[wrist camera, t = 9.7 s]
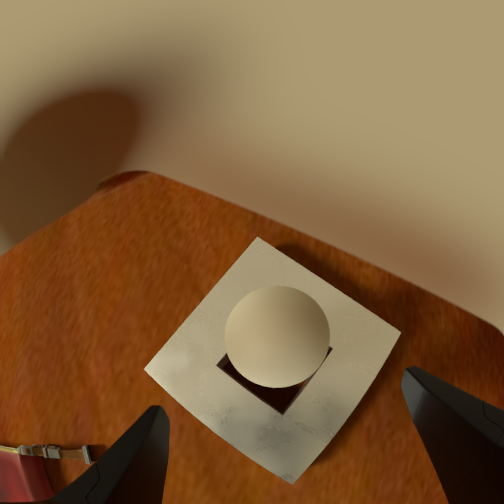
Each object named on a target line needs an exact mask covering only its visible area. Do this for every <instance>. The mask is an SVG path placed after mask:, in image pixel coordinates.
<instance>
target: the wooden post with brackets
mask: <svg viewBox="0 0 504 504" xmlns="http://www.w3.org/2000/svg"><path fill="white" fill-rule="evenodd" d="M18 451H19V452H20V453H22V455H31V456H35V455H39V456H44V457H45V458H58V459H61V458H70V459H78V460H84V461H86V464H91V463H92V462H93V461H91V458H90V454H89V450H88V445H85V446H83V447H82V449H75V450H61V448H59V447H57V446H49V444H48V445H45V447H44V446H43V447H42V448H41V445H37V444H36V445H32V446H25V445H21V446H19V447H18Z"/></svg>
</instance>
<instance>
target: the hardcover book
mask: <svg viewBox="0 0 504 504" xmlns="http://www.w3.org/2000/svg"><path fill="white" fill-rule="evenodd" d="M53 496H54V493H53V490H52V487H51V484H50V481H49V479H48V476H47V473H46V469H45V466H44V463H43V459H42V456H39V455H35V456H31V455H22V453H20V452H19V451H18V449H15V448H10V447H5V446H0V502H31V501H42V500H46V499H49V498H51V497H53Z"/></svg>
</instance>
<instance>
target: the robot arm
mask: <svg viewBox="0 0 504 504" xmlns="http://www.w3.org/2000/svg"><path fill="white" fill-rule="evenodd" d="M401 389H402V392H403V394H404V397H405V400H406V403H407V406H408V409H409V412H410V414H411V417H412V420H413V422H414V424H415V426H416V428H417V431H418V433H419V435H420V437H421V439H422V441H423V443H424V446H425V448H426V450H427V452H428V454H429V457H430V459H431V461H432V463H433V466H434V468H435V470H436V473H437V475H438V477H439V480H440V482H441V485H442V487H443V490H444V492H445V495H446V497H447V500H448V502H449V504H504V410H502V409H500V408H497V407H495V406H493V405H491V404H489V403H487V402H485V401H482V400H481V399H479V398H477V397H475V396H473V395H471V394H469V393H467V392H465V391H463V390H461V389H459V388H457V387H455V386H453V385H451V384H449V383H447V382H445V381H443V380H441V379H440V378H438V377H436V376H434V375H432V374H430V373H428V372H426V371H424V370H422V369H420V368H419V367H417V366H412V367H409V368H406V369H405V370H404V374H403V378H402V382H401ZM169 433H170V421H169V418H168V416H167V414H166V412H165V410H164V408H163V407H162V406H160V405H152V406H150V407H149V408H148V409H147V410H146V411H145V412H144V413H143V414H142V415H141V416H140V417H139V418H138V419H137V421H136V422H135V423H134V424H133V425H132V426H131V427H130V428H129V429H128V430H127V431H126V432H125V433H124V434H123V435H122V436H121V437H120V438H119V439H118V440H117V441H116V442H115V443H114V444H113V445H112V446H111V447H110V448H109V449H108V450H107V451H106V452H105V453H104V454H103V455H102V456H101V457H100V458H99V459H98V460H97V461H96V462H95V463H94V464H93V465H92V466H91V467H90V468H89V469H87V470H86V471H85V472H84V473H83V474H82V475H81V476H80V477H78V478H77V479H76V480H75V481H73V482H72V483H71V484H69V485H68V486H67V487H65V488H64V489H63V490H61V491H60V492H59V493H57V494H56V495H54V496H53V497H51V498H49V499H46V500H42V501H31V502H0V504H162V498H163V491H164V485H165V478H166V471H167V465H168V458H169Z"/></svg>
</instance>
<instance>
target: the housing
mask: <svg viewBox="0 0 504 504" xmlns="http://www.w3.org/2000/svg"><path fill="white" fill-rule="evenodd" d="M268 286H287V287H292V288H295V289H298V290H300V291H302V292H304V293H306V294H307V295H309V296H310V297H311V298H313V299H314V300H315V301H316V302H317V303H318V304H319V306H320V307H321V309H322V310H323V312H324V314H325V316H326V318H327V321H328V324H329V329H330V343H329V348H328V351H327V354H326V357H325V359H324V361H323V362H322V364H321V365H320V367H319V368H318V369H317V370H316V371H315V372H314V373H313V374H312V375H311V376H310V377H308V379H307V380H306V381H305V383H304V384H303V385H302V387H301V388H300V389H299V391H298V392H297V393H296V394H295V396H294V397H293V398H292V400H291V401H290V402H289V403H288V405H287V406H286V407H285V408H284V409H283V411H282V412H281V411H280V410H278V409H277V408H275V407H274V406H273V405H271V404H270V403H268V402H267V401H265V400H264V399H263V398H261V397H260V396H259V395H257V394H256V393H254V392H253V391H252V390H250V389H249V388H248V387H246V386H245V385H244V384H242V383H241V382H240V381H239V380H237V379H236V378H235V377H233V376H232V375H231V374H230V373H228V372H227V371H226V370H224V369H223V367H224V366H225V365H226V364H227V362H228V361H229V360H230V359H229V357H228V354H227V351H226V347H225V340H224V335H225V327H226V323H227V320H228V318H229V315H230V313H231V312H232V310H233V308H234V307H235V306H236V305H237V303H238V302H239V301H240V300H241V299H242V298H244V297H245V296H246V295H248V294H250V293H251V292H253V291H255V290H258V289H260V288H264V287H268ZM400 334H401V332H400V331H398V330H397V329H396V328H394V327H393V326H391V325H390V324H388V323H387V322H385V321H384V320H382V319H381V318H379V317H378V316H376V315H375V314H373V313H372V312H370V311H369V310H367V309H366V308H365V307H363V306H362V305H360V304H359V303H357V302H356V301H354V300H353V299H351V298H350V297H348V296H347V295H345V294H344V293H342V292H341V291H339V290H338V289H336V288H335V287H333V286H332V285H330V284H329V283H327V282H326V281H324V280H323V279H321V278H320V277H318V276H316V275H315V274H313V273H312V272H310V271H309V270H307V269H306V268H304V267H303V266H301V265H300V264H298V263H297V262H295V261H294V260H292V259H291V258H289V257H288V256H286V255H284V254H283V253H281V252H280V251H278V250H277V249H275V248H274V247H272V246H271V245H269V244H268V243H266V242H264V241H263V240H261V239H260V238H258V237H257V238H256V239H255V240H254V241H253V242H252V244H251V245H250V246H249V247H248V248H247V249H246V251H245V252H244V253H243V254H242V255H241V256H240V257H239V259H238V260H237V261H236V262H235V263H234V264H233V266H232V267H231V268H230V269H229V270H228V271H227V273H226V274H225V275H224V276H223V277H222V278H221V280H220V281H219V282H218V283H217V284H216V285H215V287H214V288H213V289H212V290H211V291H210V292H209V294H208V295H207V296H206V297H205V298H204V299H203V301H202V302H201V303H200V304H199V305H198V306H197V308H196V309H195V310H194V311H193V312H192V313H191V315H190V316H189V317H188V318H187V319H186V320H185V322H184V323H183V324H182V325H181V326H180V327H179V329H178V330H177V331H176V332H175V333H174V334H173V336H172V337H171V338H170V339H169V340H168V342H167V343H166V344H165V345H164V346H163V347H162V349H161V350H160V351H159V352H158V353H157V354H156V356H155V357H154V358H153V359H152V360H151V362H150V363H149V364H148V365H147V366H146V367H145V369H144V370H145V371H146V372H147V373H148V374H149V375H150V376H151V377H152V378H153V379H154V380H155V381H156V382H157V383H158V384H159V385H161V386H162V387H163V388H164V389H165V390H166V391H167V392H168V393H169V394H170V395H171V396H172V397H173V398H175V399H176V400H177V401H178V402H179V403H180V404H181V405H182V406H184V407H185V408H186V409H187V410H188V411H189V412H190V413H192V414H193V415H194V416H195V417H196V418H198V419H199V420H200V421H201V422H202V423H204V424H205V425H206V426H207V427H209V428H210V429H211V430H212V431H214V432H215V433H216V434H218V435H219V436H220V437H221V438H223V439H224V440H225V441H227V442H228V443H229V444H231V445H232V446H234V447H235V448H236V449H238V450H239V451H240V452H242V453H243V454H245V455H246V456H248V457H249V458H251V459H252V460H254V461H255V462H256V463H258V464H260V465H261V466H263V467H264V468H266V469H267V470H269V471H270V472H272V473H274V474H275V475H277V476H278V477H280V478H282V479H283V480H285V481H287V482H288V483H290V484H293V483H294V482H295V481H296V480H297V479H298V478H299V477H300V476H301V475H302V474H303V472H304V471H305V470H306V469H307V468H308V467H309V466H310V465H311V463H312V462H313V461H314V460H315V459H316V458H317V457H318V455H319V454H320V453H321V452H322V451H323V449H324V448H325V447H326V446H327V444H328V443H329V442H330V441H331V439H332V438H333V437H334V436H335V434H336V433H337V432H338V431H339V429H340V428H341V427H342V425H343V424H344V423H345V421H346V420H347V418H348V417H349V416H350V414H351V413H352V412H353V410H354V409H355V407H356V406H357V404H358V403H359V402H360V400H361V399H362V397H363V396H364V394H365V393H366V391H367V390H368V388H369V387H370V385H371V383H372V382H373V380H374V379H375V377H376V376H377V374H378V372H379V371H380V369H381V367H382V366H383V364H384V362H385V361H386V359H387V357H388V355H389V354H390V352H391V350H392V348H393V347H394V345H395V343H396V341H397V339H398V338H399V336H400Z"/></svg>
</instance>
